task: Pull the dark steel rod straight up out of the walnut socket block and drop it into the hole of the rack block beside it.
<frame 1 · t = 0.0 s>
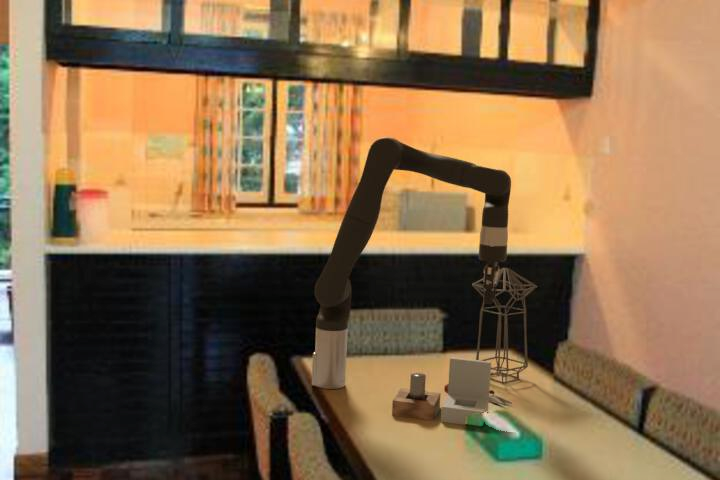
hand: (489, 301, 212), 29 cm above the table, fingers open, 8 cm apart
pliers: (474, 398, 222), on the table
socket block: (416, 411, 207), on the table
geometric lantern: (498, 378, 242), on the table
steel rod: (417, 393, 206), in the socket block
rack block: (464, 417, 204), on the table
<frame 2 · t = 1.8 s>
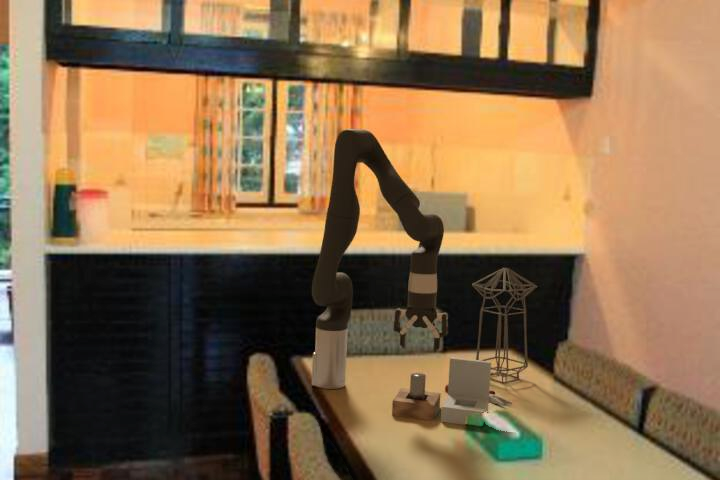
hand: (419, 349, 205), 17 cm above the table, fingers open, 8 cm apart
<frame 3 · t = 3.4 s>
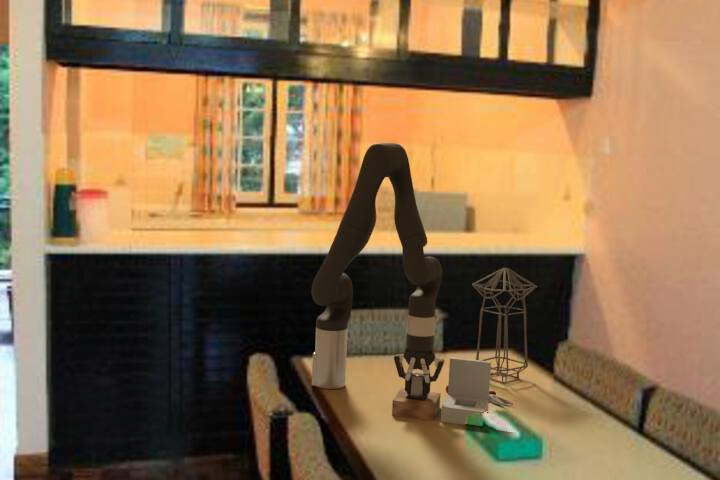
hand: (417, 394, 206), 5 cm above the table, fingers closed on steel rod, 4 cm apart
steel rod: (417, 393, 206), in the socket block, touching gripper
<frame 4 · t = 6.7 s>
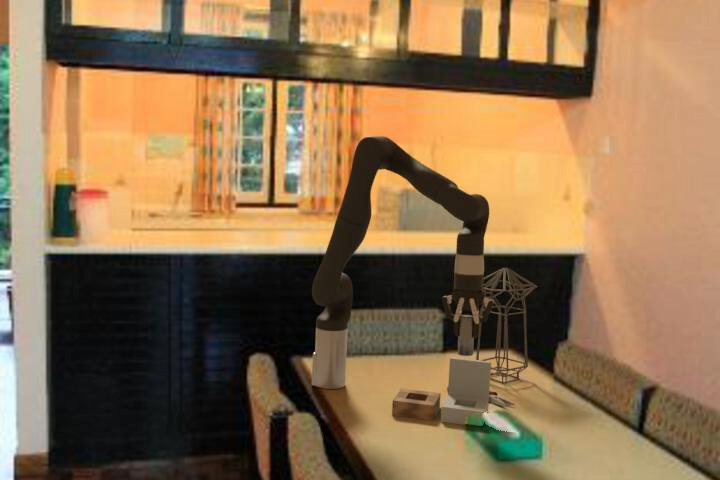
hand: (466, 336, 201), 22 cm above the table, fingers closed on steel rod, 4 cm apart
steel rod: (466, 335, 201), point 22 cm above the table, touching gripper
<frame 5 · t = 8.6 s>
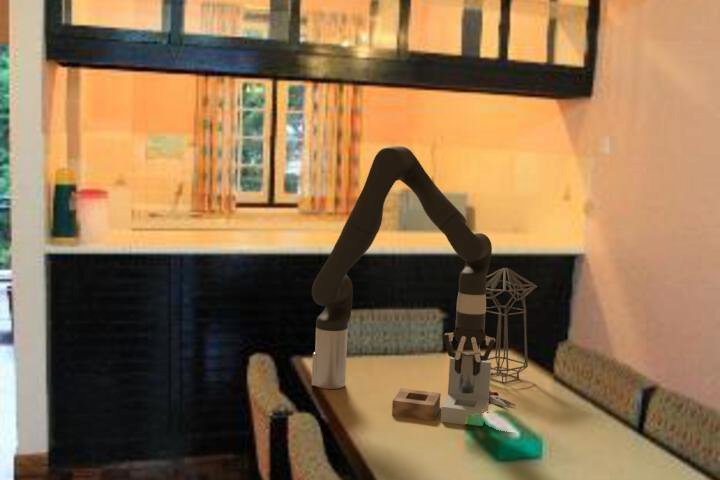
hand: (467, 373, 202), 12 cm above the table, fingers closed on steel rod, 4 cm apart
steel rod: (467, 372, 202), point 12 cm above the table, touching gripper
when the fingers open (6 cm above the table, at t = 10.1 s): steel rod drops 1 cm, resting in rack block.
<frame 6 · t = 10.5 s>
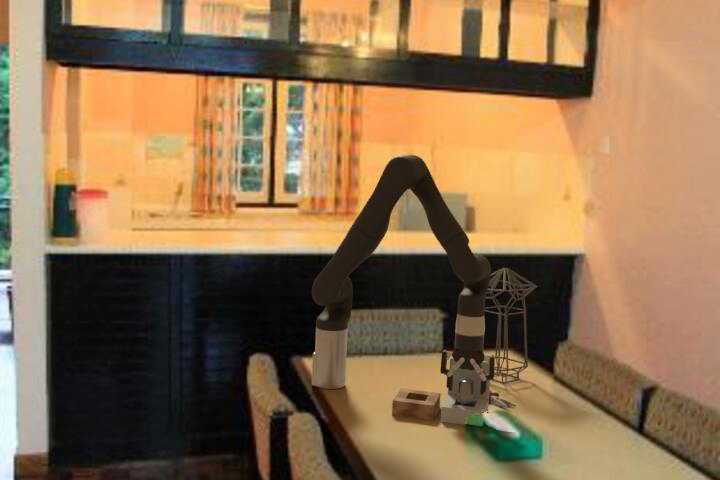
hand: (466, 391, 203), 7 cm above the table, fingers open, 8 cm apart
steel rod: (465, 399, 203), resting in rack block
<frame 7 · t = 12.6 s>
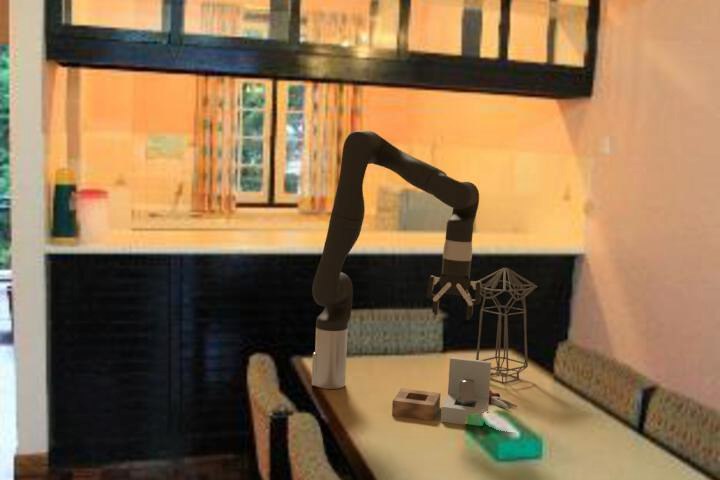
hand: (451, 316, 206), 26 cm above the table, fingers open, 8 cm apart
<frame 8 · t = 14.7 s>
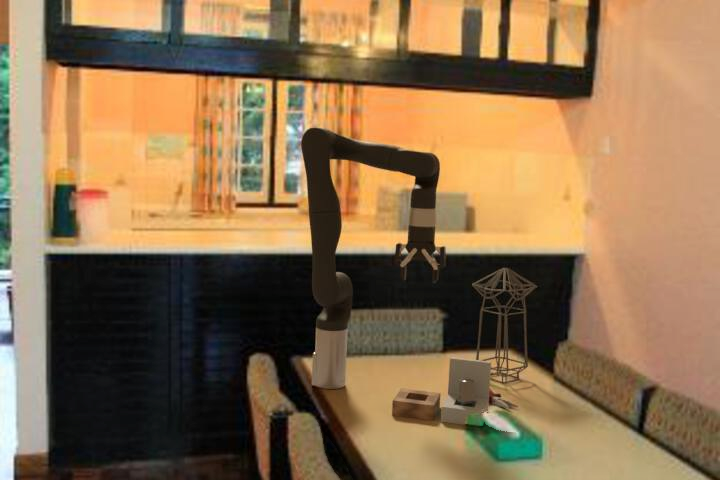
hand: (418, 281, 216), 33 cm above the table, fingers open, 8 cm apart
at the end: steel rod 0.1 cm off-centre on the rack block, point 5.0 cm above the rack block's base; steel rod tilted 0°; the gripper is holding nothing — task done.
